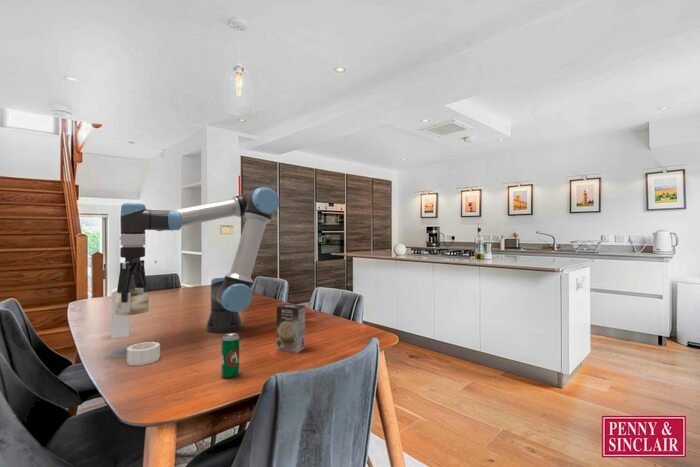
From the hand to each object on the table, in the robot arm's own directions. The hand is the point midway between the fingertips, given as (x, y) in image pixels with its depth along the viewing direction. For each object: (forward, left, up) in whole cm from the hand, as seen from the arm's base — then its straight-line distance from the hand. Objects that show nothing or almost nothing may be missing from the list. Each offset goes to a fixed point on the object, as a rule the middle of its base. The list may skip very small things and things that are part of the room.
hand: (132, 308), depth 121 cm
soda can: (-38, +28, -16) cm, 50 cm away
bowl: (-8, +11, -16) cm, 21 cm away
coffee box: (-56, +7, -16) cm, 58 cm away
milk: (+13, -21, -16) cm, 29 cm away
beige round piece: (0, 0, -1) cm, 1 cm away
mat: (0, 0, -16) cm, 16 cm away
